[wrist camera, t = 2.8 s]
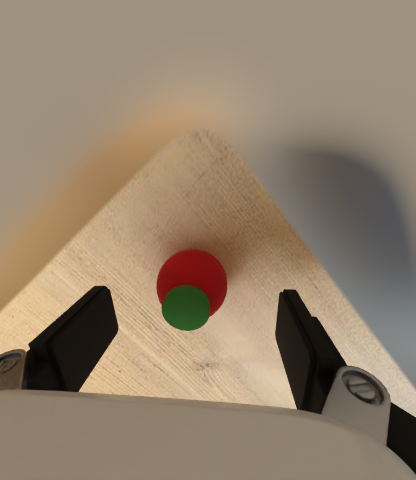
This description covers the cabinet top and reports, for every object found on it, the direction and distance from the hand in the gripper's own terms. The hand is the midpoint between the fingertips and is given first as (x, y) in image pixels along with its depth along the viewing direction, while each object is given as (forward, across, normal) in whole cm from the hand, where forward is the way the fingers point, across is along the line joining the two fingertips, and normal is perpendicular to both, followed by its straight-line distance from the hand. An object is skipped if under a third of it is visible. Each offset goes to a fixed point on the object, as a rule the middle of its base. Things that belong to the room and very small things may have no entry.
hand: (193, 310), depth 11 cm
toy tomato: (+5, 0, 0) cm, 5 cm away
